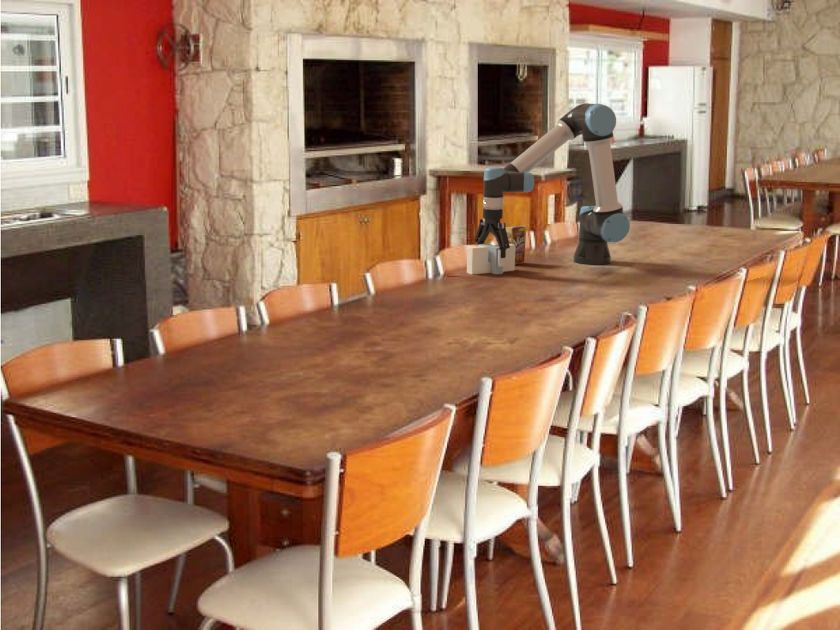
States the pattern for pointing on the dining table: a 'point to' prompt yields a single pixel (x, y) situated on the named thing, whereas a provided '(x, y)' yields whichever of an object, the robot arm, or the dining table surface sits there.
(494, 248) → the light blue arch block
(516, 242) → the candy box
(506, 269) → the slotted stand
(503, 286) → the dining table surface
